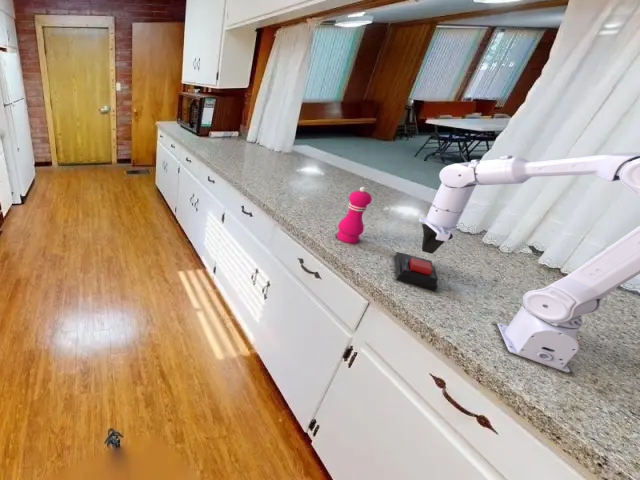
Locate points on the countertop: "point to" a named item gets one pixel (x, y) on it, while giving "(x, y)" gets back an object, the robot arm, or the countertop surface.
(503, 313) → the countertop surface
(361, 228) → the pepper mill
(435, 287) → the press
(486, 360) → the countertop surface
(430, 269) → the block
